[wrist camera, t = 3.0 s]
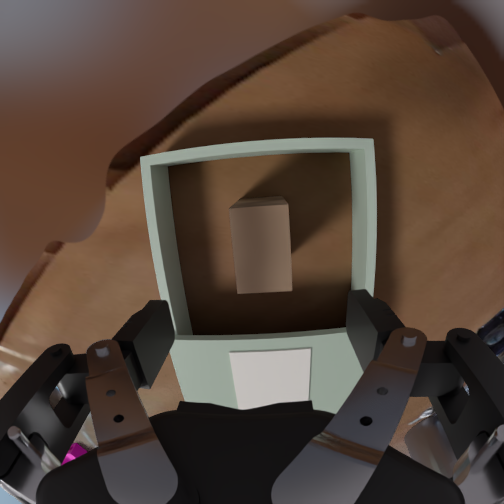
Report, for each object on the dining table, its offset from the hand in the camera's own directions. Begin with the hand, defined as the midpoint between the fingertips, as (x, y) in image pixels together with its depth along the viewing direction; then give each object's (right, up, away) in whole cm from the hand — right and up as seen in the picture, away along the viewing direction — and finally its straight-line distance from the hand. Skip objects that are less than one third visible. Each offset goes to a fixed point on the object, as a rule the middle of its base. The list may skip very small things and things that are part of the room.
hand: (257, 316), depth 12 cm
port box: (+2, -2, +21) cm, 21 cm away
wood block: (+1, +5, +19) cm, 19 cm away
